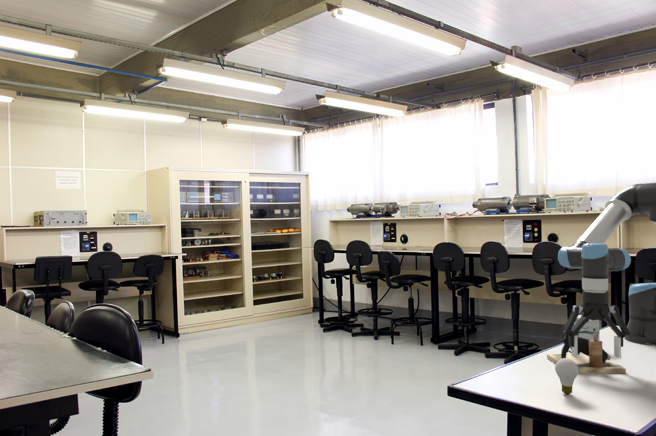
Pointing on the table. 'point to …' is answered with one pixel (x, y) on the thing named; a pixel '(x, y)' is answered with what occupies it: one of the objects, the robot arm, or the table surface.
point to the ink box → (588, 329)
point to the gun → (580, 347)
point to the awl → (595, 352)
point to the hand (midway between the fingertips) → (596, 356)
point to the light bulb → (566, 374)
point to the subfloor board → (584, 364)
